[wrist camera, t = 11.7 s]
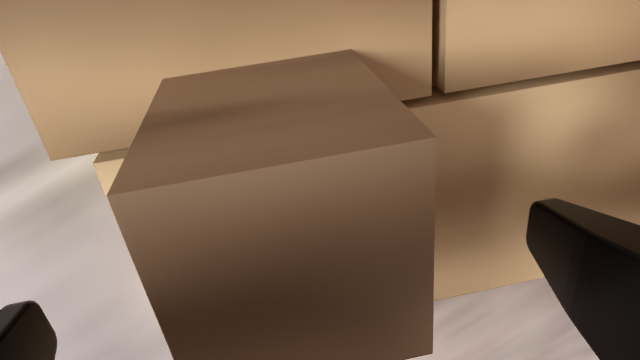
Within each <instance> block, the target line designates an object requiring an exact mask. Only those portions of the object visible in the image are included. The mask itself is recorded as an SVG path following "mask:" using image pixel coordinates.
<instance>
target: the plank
mask: <svg viewBox="0 0 640 360" xmlns="http://www.w3.org/2000/svg"><path fill="white" fill-rule="evenodd" d="M401 102H402V103H403V104H404V105H405V106H406V107H407V108H408V109H409V110H410V111H411V112H412V113H413V114H414V115H415V116H416V117H417V118H418V119H419V120H420V121H421V122H422V123H423V124H424V125H425V126H426V127H427V128H428V129H429V130H430V131H431V132H432V133H433V134H434V136H435V137H436V178H435V239H434V299H433V301H436V300H440V299H445V298H450V297H454V296H459V295H464V294H469V293H473V292H478V291H483V290H487V289H492V288H497V287H502V286H506V285H511V284H516V283H520V282H525V281H530V280H535V279H539V278H544V277H545V276H544V275H543V273H542V271H541V269H540V268H539V266H538V264H537V263H536V261H535V259H534V257H533V256H532V254H531V252H530V251H529V249H528V246H527V243H526V231H527V224H528V217H529V210H530V206H531V204H532V203H533V202H535V201H538V200H543V199H548V198H558V199H561V200H564V201H567V202H570V203H573V204H576V205H579V206H582V207H586V208H589V209H592V210H595V211H598V212H601V213H604V214H607V215H610V216H613V217H616V218H619V219H623V220H626V221H629V222H632V223H635V224H638V225H640V60H638V61H632V62H626V63H620V64H614V65H608V66H603V67H597V68H591V69H585V70H579V71H573V72H568V73H562V74H556V75H550V76H544V77H538V78H532V79H527V80H521V81H515V82H509V83H503V84H497V85H491V86H486V87H480V88H474V89H468V90H462V91H456V92H450V93H443V92H442V91H441V90H439V89H438V88H437V87H435V86H432V96H427V97H421V98H415V99H409V100H404V101H401ZM129 148H130V147H128V148H122V149H117V150H111V151H105V152H100V153H99V154H98V156H97V158H96V159H95V161H94V162H93V166H94V168H95V171H96V173H97V176H98V178H99V181H100V183H101V185H102V188H103V190H104V193H105V195H106V197H107V194H108V192H109V190H110V188H111V185H112V183H113V181H114V179H115V177H116V175H117V173H118V171H119V169H120V167H121V165H122V163H123V160H124V158H125V156H126V154H127V152H128V150H129ZM107 200H108V199H107ZM108 202H109V201H108ZM109 205H110V203H109ZM110 207H111V206H110ZM111 209H112V208H111ZM112 212H113V211H112ZM113 214H114V213H113ZM114 217H115V216H114ZM115 219H116V218H115ZM116 222H117V220H116ZM117 224H118V223H117ZM118 226H119V225H118ZM119 229H120V228H119ZM120 231H121V230H120ZM121 234H122V233H121ZM122 236H123V235H122ZM123 238H124V237H123ZM124 241H125V240H124ZM125 243H126V242H125ZM126 246H127V245H126ZM127 248H128V247H127ZM128 251H129V249H128ZM129 253H130V252H129ZM130 255H131V254H130ZM131 258H132V257H131ZM132 260H133V259H132ZM133 263H134V262H133ZM134 265H135V264H134ZM135 267H136V266H135ZM136 270H137V269H136ZM137 272H138V271H137ZM138 275H139V274H138ZM139 277H140V276H139ZM141 282H142V281H141ZM142 284H143V283H142ZM143 287H144V286H143ZM144 289H145V288H144ZM145 292H146V291H145ZM146 294H147V293H146ZM148 299H149V298H148ZM149 301H150V300H149ZM150 304H151V303H150ZM151 306H152V305H151ZM153 311H154V310H153ZM155 316H156V315H155ZM156 318H157V317H156ZM157 321H158V320H157ZM158 323H159V322H158ZM160 328H161V327H160ZM162 333H163V332H162ZM163 335H164V334H163ZM165 340H166V339H165ZM167 345H168V344H167ZM169 350H170V349H169ZM170 352H171V351H170Z"/></svg>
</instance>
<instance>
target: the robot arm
mask: <svg viewBox="0 0 640 360" xmlns="http://www.w3.org/2000/svg"><path fill="white" fill-rule="evenodd" d="M526 243H527V246H528V249H529V251H530V252H531V254H532V256H533V257H534V259H535V261H536V263H537V264H538V266H539V268H540V269H541V271H542V273H543V275H544V276H545V278H546V280H547V281H548V283H549V285H550V287H551V288H552V290H553V292H554V293H555V295H556V297H557V298H558V300H559V302H560V304H561V305H562V307H563V308H564V310H565V312H566V313H567V315H568V316H569V318H570V319H571V321H572V322H573V324H574V325H575V326H576V328H577V329H578V331H579V332H580V333H581V335H582V336H583V337H584V339H585V340H586V341H587V343H588V344H589V346H590V347H591V348H592V350H593V351H594V352H595V354H596V355H597V356H598V358H599V359H600V360H640V225H638V224H635V223H632V222H629V221H626V220H623V219H619V218H616V217H613V216H610V215H607V214H604V213H601V212H598V211H595V210H592V209H589V208H586V207H582V206H579V205H576V204H573V203H570V202H567V201H564V200H561V199H558V198H548V199H543V200H538V201H535V202H533V203H532V204H531V206H530V210H529V217H528V224H527V231H526ZM56 349H57V337H56V334H55V332H54V330H53V328H52V326H51V325H50V323H49V321H48V319H47V318H46V316H45V314H44V313H43V311H42V309H41V307H40V306H39V305H38V303H36V302H35V301H24V302H19V303H14V304H10V305H7V306H5V307H4V308H2V309H1V310H0V360H55V354H56Z"/></svg>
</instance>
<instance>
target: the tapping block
mask: <svg viewBox="0 0 640 360" xmlns="http://www.w3.org/2000/svg"><path fill="white" fill-rule="evenodd" d="M435 178H436V137H435V136H434V134H433V133H432V132H431V131H430V130H429V129H428V128H427V127H426V126H425V125H424V124H423V123H422V122H421V121H420V120H419V119H418V118H417V117H416V116H415V115H414V114H413V113H412V112H411V111H410V110H409V109H408V108H407V107H406V106H405V105H404V104H403V103H402V102H401V101H400V100H399V99H398V98H397V97H396V96H395V95H394V94H393V93H392V92H391V91H390V89H389V88H388V87H387V86H386V85H385V84H384V83H383V82H382V81H381V80H380V79H379V78H378V77H377V76H376V75H375V74H374V73H373V72H372V71H371V70H370V69H369V68H368V67H367V66H366V65H365V64H364V63H363V62H362V61H361V60H360V59H359V58H358V57H357V56H356V55H355V54H354V53H353V52H352V51H351V50H350V49H349V50H342V51H336V52H330V53H323V54H317V55H311V56H304V57H298V58H292V59H285V60H279V61H272V62H266V63H260V64H253V65H247V66H241V67H234V68H228V69H222V70H215V71H209V72H203V73H196V74H190V75H184V76H177V77H171V78H165V79H162V81H161V83H160V85H159V88H158V90H157V92H156V94H155V96H154V98H153V100H152V102H151V104H150V106H149V108H148V110H147V113H146V115H145V117H144V119H143V121H142V123H141V125H140V127H139V129H138V131H137V133H136V135H135V138H134V140H133V142H132V144H131V146H130V148H129V150H128V152H127V154H126V156H125V158H124V160H123V163H122V165H121V167H120V169H119V171H118V173H117V175H116V177H115V179H114V181H113V183H112V185H111V188H110V190H109V192H108V194H107V199H108V201H109V203H110V206H111V208H112V211H113V213H114V216H115V218H116V220H117V223H118V225H119V228H120V230H121V233H122V235H123V237H124V240H125V242H126V245H127V247H128V249H129V252H130V254H131V257H132V259H133V262H134V264H135V266H136V269H137V271H138V274H139V276H140V279H141V281H142V283H143V286H144V288H145V291H146V293H147V296H148V298H149V300H150V303H151V305H152V308H153V310H154V313H155V315H156V317H157V320H158V322H159V325H160V327H161V330H162V332H163V334H164V337H165V339H166V342H167V344H168V347H169V349H170V351H171V354H172V356H173V359H174V360H406V359H410V358H415V357H419V356H424V355H428V354H433V299H434V239H435Z"/></svg>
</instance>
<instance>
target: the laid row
mask: <svg viewBox="0 0 640 360" xmlns="http://www.w3.org/2000/svg"><path fill="white" fill-rule="evenodd" d="M349 49H350V50H351V51H352V52H353V53H354V54H355V55H356V56H357V57H358V58H359V59H360V60H361V61H362V62H363V63H364V64H365V65H366V66H367V67H368V68H369V69H370V70H371V71H372V72H373V73H374V74H375V75H376V76H377V77H378V78H379V79H380V80H381V81H382V82H383V83H384V84H385V85H386V86H387V87H388V88H389V89H390V91H391V92H392V93H393V94H394V95H395V96H396V97H397V98H398V99H399V100H400V101H404V100H409V99H415V98H421V97H427V96H432V84H433V85H434V86H435V87H437V88H438V89H439V90H441V91H442V92H443V93H450V92H456V91H462V90H468V89H474V88H480V87H486V86H491V85H497V84H503V83H509V82H515V81H521V80H527V79H532V78H538V77H544V76H550V75H556V74H562V73H568V72H573V71H579V70H585V69H591V68H597V67H603V66H608V65H614V64H620V63H626V62H632V61H638V60H640V0H0V51H1V53H2V55H3V58H4V60H5V62H6V64H7V66H8V68H9V71H10V73H11V75H12V77H13V79H14V82H15V84H16V86H17V88H18V90H19V92H20V95H21V97H22V99H23V101H24V103H25V105H26V108H27V110H28V112H29V114H30V116H31V118H32V121H33V123H34V125H35V127H36V129H37V131H38V134H39V136H40V138H41V140H42V142H43V144H44V147H45V149H46V151H47V153H48V155H49V157H50V160H51V161H52V160H58V159H64V158H70V157H76V156H82V155H87V154H93V153H99V152H105V151H111V150H117V149H122V148H128V147H130V146H131V144H132V142H133V140H134V138H135V135H136V133H137V131H138V129H139V127H140V125H141V123H142V121H143V119H144V117H145V115H146V113H147V110H148V108H149V106H150V104H151V102H152V100H153V98H154V96H155V94H156V92H157V90H158V88H159V85H160V83H161V81H162V79H165V78H171V77H177V76H184V75H190V74H196V73H203V72H209V71H215V70H222V69H228V68H234V67H241V66H247V65H253V64H260V63H266V62H272V61H279V60H285V59H292V58H298V57H304V56H311V55H317V54H323V53H330V52H336V51H342V50H349Z"/></svg>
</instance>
